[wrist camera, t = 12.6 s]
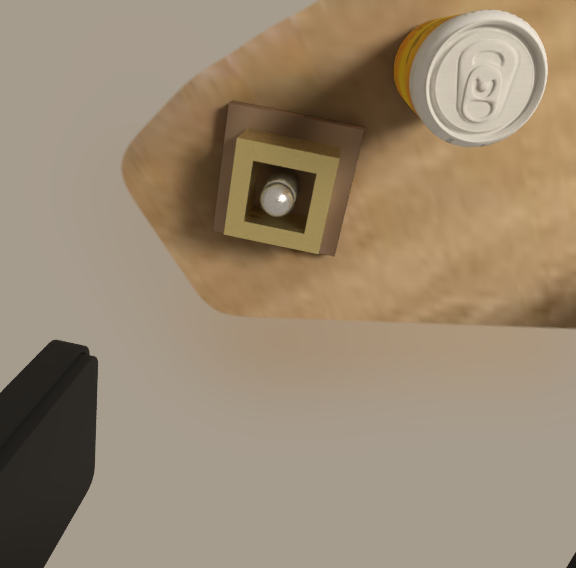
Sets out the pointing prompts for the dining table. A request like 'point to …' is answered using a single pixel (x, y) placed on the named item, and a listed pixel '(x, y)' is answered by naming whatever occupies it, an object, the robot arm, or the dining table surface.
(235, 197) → the square wooden frame
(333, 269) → the dining table surface
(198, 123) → the dining table surface
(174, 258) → the dining table surface
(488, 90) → the beer can
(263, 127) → the keeper block
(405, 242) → the dining table surface
